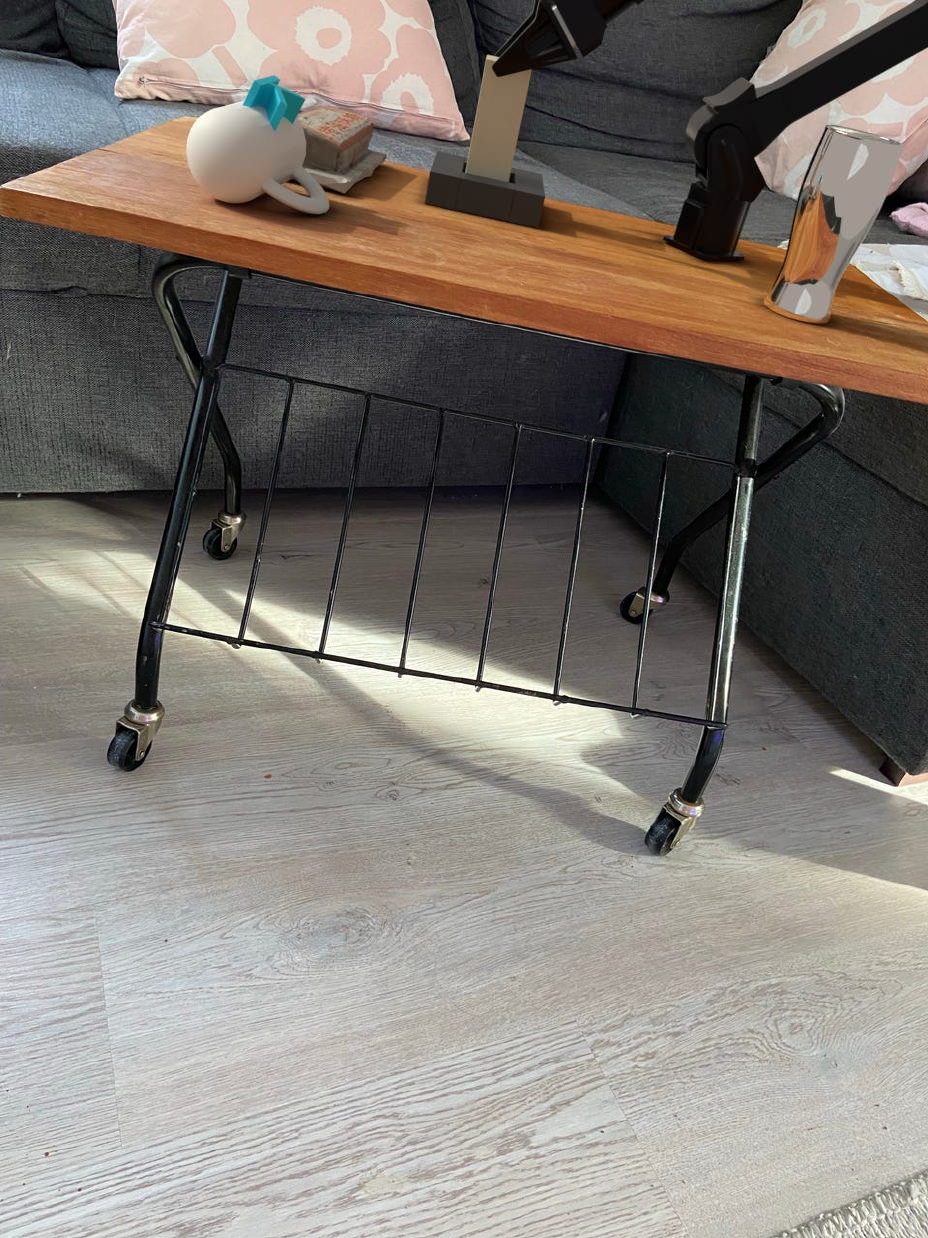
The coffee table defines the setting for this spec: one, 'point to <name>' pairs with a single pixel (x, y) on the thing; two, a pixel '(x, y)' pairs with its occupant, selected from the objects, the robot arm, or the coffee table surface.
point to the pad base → (485, 192)
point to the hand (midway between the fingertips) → (494, 66)
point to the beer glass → (832, 219)
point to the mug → (254, 149)
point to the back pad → (497, 123)
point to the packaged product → (338, 147)
